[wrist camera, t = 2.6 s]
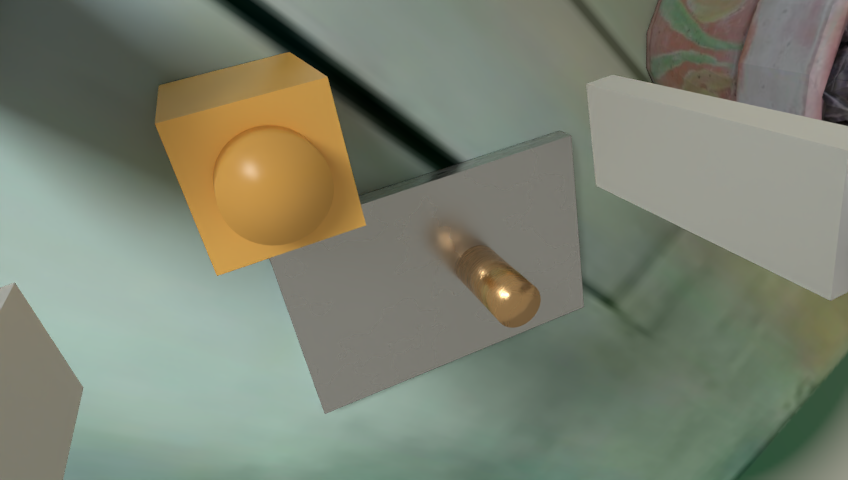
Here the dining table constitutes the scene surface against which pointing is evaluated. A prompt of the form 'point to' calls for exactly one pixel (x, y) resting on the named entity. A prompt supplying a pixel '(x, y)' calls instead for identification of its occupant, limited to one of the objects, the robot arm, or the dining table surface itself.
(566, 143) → the plate
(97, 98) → the dining table surface
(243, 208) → the orange knobbed block
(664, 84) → the potted plant
